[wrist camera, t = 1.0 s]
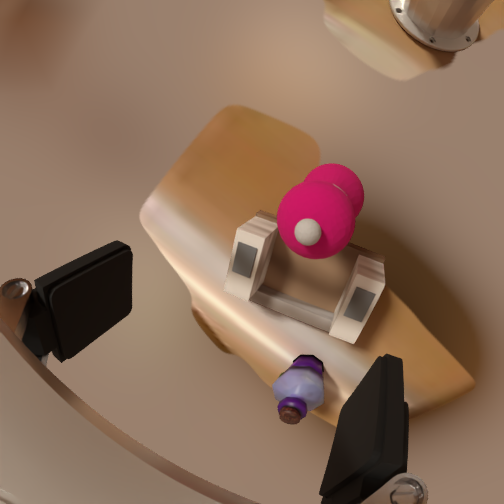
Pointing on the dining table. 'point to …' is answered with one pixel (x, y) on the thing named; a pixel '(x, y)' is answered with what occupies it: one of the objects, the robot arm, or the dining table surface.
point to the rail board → (305, 279)
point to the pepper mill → (321, 212)
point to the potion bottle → (299, 388)
